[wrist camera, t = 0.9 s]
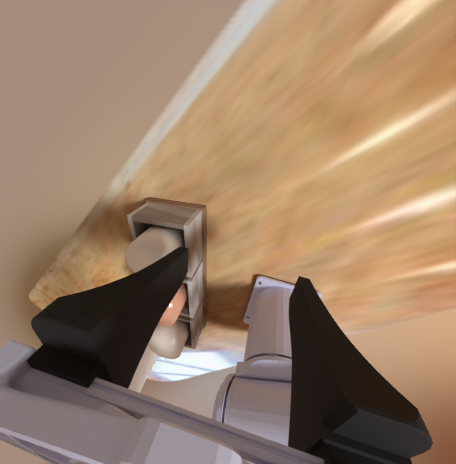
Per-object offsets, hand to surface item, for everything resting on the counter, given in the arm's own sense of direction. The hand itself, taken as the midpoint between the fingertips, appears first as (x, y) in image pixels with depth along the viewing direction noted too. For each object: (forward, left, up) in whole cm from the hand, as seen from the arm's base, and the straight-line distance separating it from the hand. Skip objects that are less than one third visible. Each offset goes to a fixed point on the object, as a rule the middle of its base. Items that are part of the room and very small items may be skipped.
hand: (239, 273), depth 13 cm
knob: (-18, +7, -7) cm, 21 cm away
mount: (-11, +8, -10) cm, 17 cm away
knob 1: (-4, +8, -7) cm, 12 cm away
